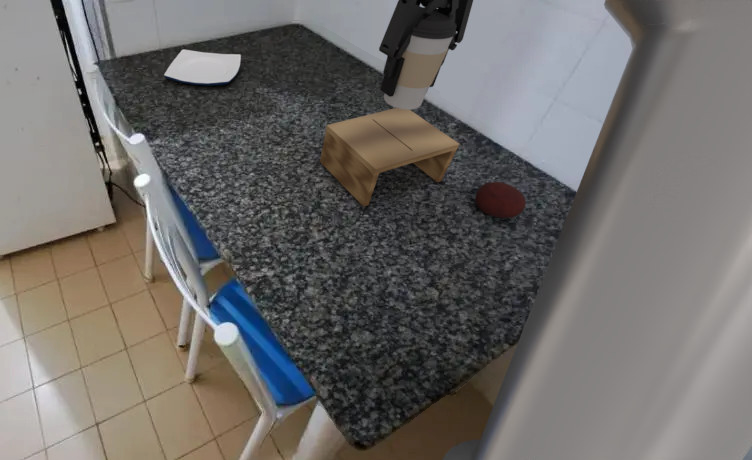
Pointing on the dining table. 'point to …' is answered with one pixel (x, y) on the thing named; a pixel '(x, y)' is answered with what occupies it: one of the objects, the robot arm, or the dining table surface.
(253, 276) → the dining table surface
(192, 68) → the plate
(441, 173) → the board
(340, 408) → the dining table surface
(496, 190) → the potato
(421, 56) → the coffee cup
